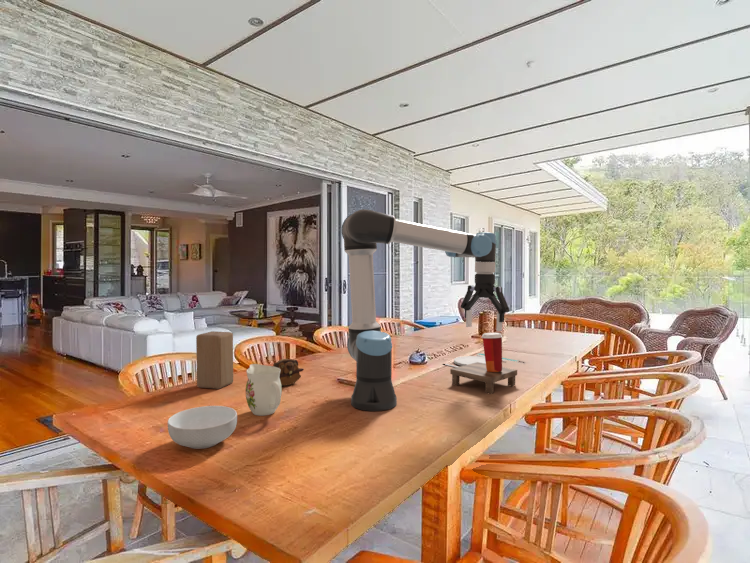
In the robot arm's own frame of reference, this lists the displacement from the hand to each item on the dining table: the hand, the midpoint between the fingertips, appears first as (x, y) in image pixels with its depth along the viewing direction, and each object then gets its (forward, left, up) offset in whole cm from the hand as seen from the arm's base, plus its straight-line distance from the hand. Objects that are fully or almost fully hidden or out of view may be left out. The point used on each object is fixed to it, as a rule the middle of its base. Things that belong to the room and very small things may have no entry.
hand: (483, 328), depth 168 cm
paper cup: (0, -5, -16) cm, 16 cm away
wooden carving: (-57, +50, -22) cm, 79 cm away
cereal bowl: (-101, +17, -22) cm, 104 cm away
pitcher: (-78, +27, -22) cm, 85 cm away
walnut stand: (0, 0, -22) cm, 22 cm away
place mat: (+29, +23, -23) cm, 44 cm away
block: (-77, +68, -22) cm, 105 cm away
